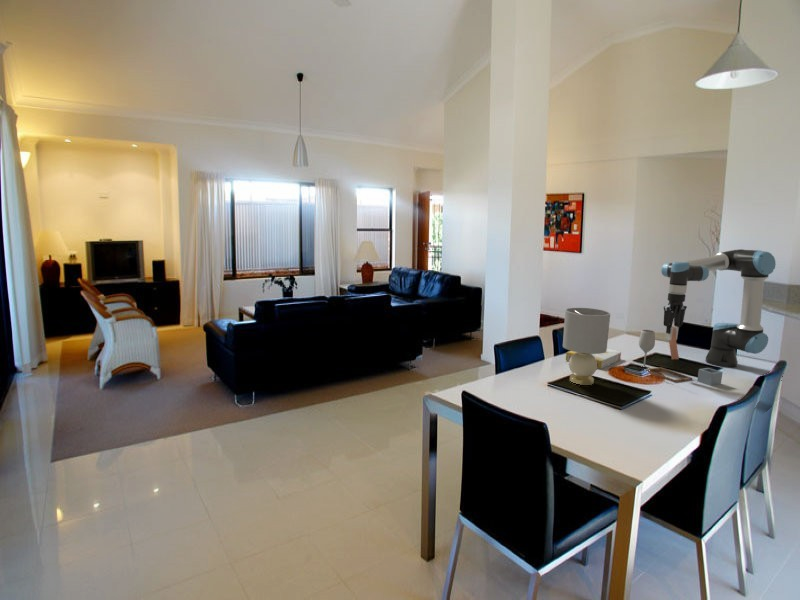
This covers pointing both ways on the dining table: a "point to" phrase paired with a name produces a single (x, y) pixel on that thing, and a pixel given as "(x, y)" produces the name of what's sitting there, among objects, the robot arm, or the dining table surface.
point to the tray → (658, 370)
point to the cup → (709, 376)
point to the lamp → (585, 341)
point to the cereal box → (601, 357)
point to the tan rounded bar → (673, 346)
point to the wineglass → (647, 342)
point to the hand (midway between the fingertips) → (671, 339)
